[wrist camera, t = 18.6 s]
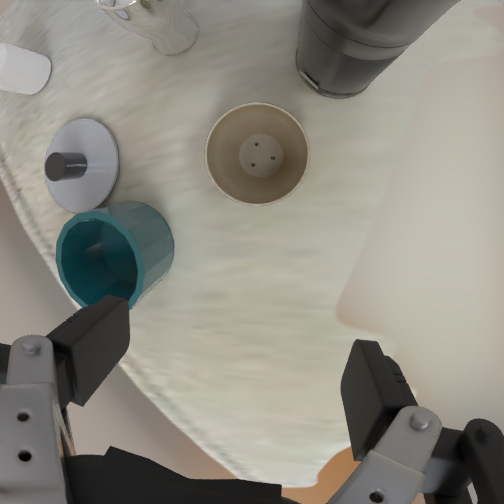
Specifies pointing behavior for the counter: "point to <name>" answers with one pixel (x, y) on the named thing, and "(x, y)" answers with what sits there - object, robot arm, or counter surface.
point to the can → (22, 70)
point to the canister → (114, 252)
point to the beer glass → (154, 22)
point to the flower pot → (257, 154)
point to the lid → (81, 165)
